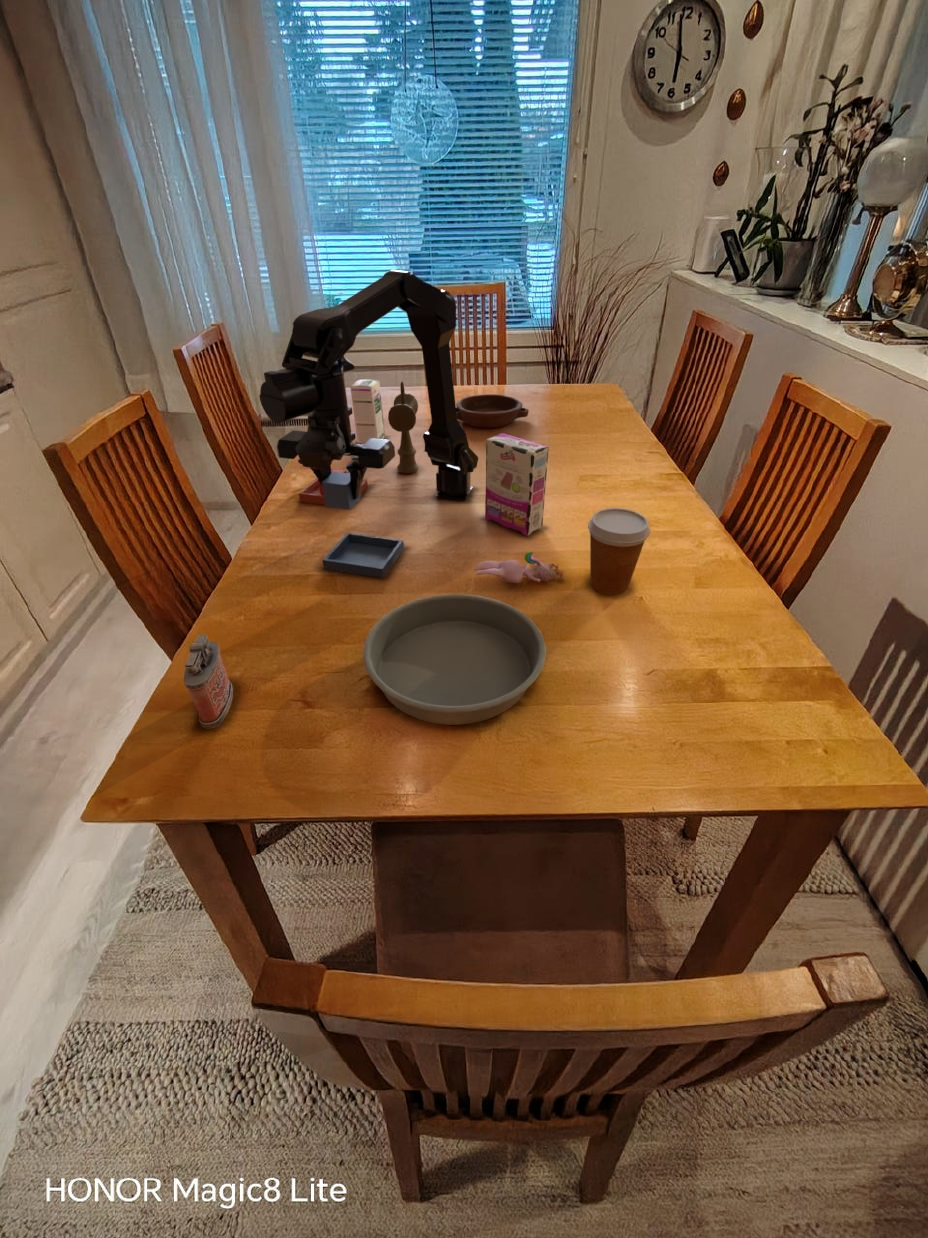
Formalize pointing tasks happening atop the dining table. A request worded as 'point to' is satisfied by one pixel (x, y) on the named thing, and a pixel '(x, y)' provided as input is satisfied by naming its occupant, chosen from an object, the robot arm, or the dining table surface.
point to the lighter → (208, 682)
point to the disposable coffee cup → (615, 548)
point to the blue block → (338, 491)
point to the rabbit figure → (519, 570)
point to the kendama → (404, 429)
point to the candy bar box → (515, 483)
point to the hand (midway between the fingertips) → (342, 497)
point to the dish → (489, 410)
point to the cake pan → (454, 657)
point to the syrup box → (367, 410)
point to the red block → (331, 473)
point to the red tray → (313, 492)
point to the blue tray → (364, 555)
